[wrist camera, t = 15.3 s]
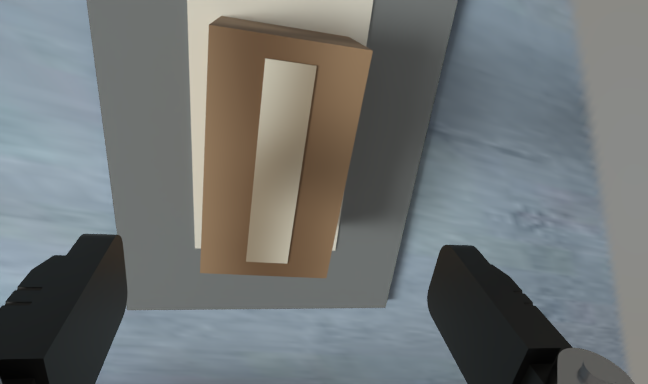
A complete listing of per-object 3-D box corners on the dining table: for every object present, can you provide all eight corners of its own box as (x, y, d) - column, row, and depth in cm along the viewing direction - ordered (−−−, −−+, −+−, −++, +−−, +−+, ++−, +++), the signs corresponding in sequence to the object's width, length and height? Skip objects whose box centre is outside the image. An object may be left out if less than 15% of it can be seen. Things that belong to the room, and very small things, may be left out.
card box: (348, 36, 16) (373, 50, 13) (314, 227, 20) (326, 279, 16) (221, 15, 15) (208, 24, 12) (211, 220, 19) (199, 274, 15)
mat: (382, 300, 24) (385, 308, 23) (130, 302, 21) (126, 311, 21) (477, -112, 15) (486, -117, 14) (69, -189, 13) (59, -198, 12)
